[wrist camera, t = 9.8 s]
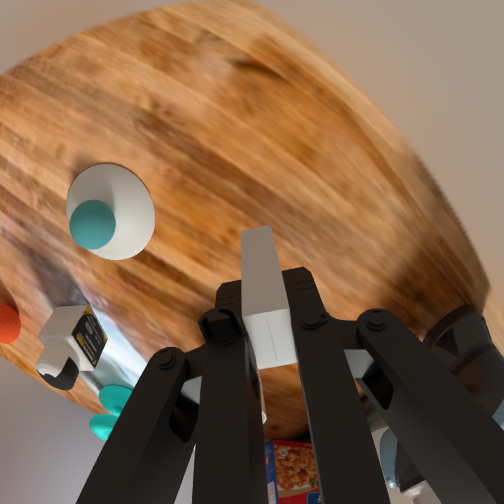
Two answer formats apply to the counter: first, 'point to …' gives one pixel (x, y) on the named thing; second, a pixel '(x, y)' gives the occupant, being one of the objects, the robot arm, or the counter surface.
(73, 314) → the medicine bottle
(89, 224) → the ball
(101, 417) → the donuts
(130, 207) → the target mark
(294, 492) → the pasta box
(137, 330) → the counter surface
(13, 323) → the clementine
